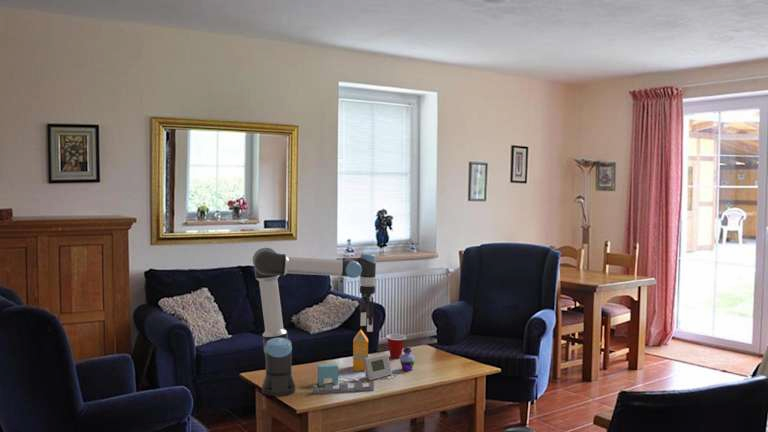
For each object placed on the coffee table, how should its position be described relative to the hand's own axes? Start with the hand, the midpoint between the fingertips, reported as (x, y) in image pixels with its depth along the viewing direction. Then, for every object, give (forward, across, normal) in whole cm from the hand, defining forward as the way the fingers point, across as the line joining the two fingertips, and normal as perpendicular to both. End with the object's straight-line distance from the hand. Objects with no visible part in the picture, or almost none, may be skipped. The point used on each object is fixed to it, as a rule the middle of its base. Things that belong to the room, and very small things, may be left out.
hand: (366, 328), depth 330 cm
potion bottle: (+25, +11, -25) cm, 36 cm away
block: (+25, -5, +19) cm, 32 cm away
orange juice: (+25, +18, -2) cm, 31 cm away
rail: (+25, -18, +14) cm, 34 cm away
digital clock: (+25, +1, -7) cm, 26 cm away
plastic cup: (+25, +36, -26) cm, 51 cm away
